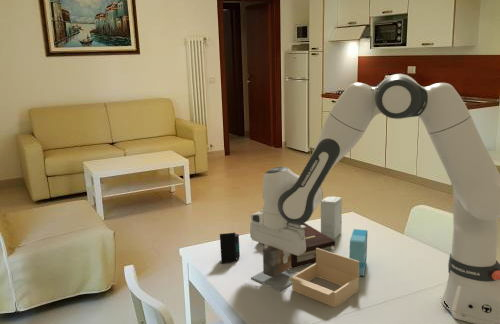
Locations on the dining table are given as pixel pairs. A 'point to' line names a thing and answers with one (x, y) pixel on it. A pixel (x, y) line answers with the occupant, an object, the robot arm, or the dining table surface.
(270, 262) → the box
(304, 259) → the decorative book
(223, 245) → the speaker
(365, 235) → the blue rounded block
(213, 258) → the dining table surface
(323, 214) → the skincare box
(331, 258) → the drawer
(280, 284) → the mat
